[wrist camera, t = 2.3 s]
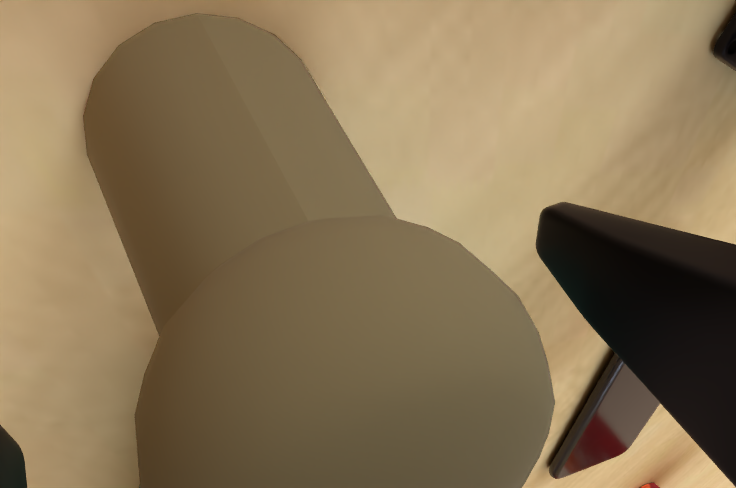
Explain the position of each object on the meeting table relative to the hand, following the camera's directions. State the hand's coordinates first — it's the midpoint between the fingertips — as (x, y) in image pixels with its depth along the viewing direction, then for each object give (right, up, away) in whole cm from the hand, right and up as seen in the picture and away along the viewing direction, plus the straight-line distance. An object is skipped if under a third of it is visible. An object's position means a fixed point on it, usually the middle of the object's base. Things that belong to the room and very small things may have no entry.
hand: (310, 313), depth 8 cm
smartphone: (+18, -8, +26) cm, 32 cm away
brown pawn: (-3, +4, +5) cm, 8 cm away
